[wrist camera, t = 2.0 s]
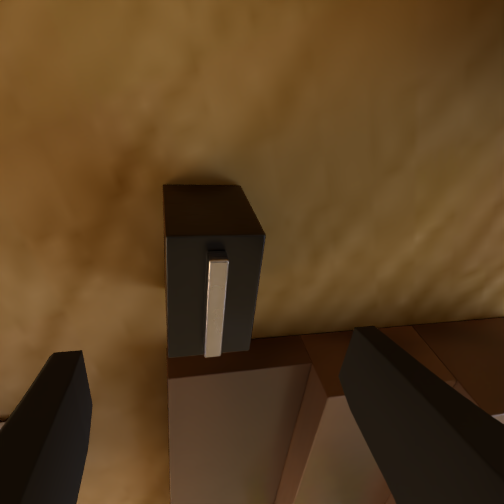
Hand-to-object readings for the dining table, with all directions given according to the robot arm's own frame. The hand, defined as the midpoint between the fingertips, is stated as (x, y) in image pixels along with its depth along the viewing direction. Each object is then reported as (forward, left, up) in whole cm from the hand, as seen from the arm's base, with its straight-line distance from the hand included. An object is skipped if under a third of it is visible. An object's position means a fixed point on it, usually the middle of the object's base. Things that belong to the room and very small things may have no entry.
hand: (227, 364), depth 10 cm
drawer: (0, 0, -7) cm, 7 cm away
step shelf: (+9, -14, -7) cm, 18 cm away
